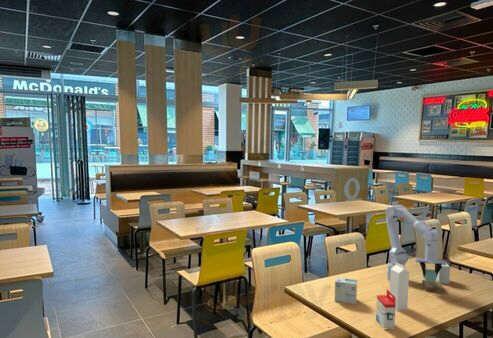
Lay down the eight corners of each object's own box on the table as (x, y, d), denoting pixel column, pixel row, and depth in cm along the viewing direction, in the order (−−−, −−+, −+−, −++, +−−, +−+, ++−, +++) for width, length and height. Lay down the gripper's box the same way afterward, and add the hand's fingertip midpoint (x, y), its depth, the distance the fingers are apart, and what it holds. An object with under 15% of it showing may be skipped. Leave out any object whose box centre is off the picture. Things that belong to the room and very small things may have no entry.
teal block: (425, 281, 181) (426, 272, 181) (423, 277, 186) (424, 268, 185) (435, 282, 180) (436, 273, 179) (433, 278, 184) (434, 269, 184)
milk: (397, 311, 163) (399, 266, 161) (388, 305, 169) (390, 262, 167) (407, 309, 164) (409, 265, 163) (398, 303, 170) (400, 261, 168)
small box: (449, 284, 194) (450, 266, 193) (438, 283, 195) (439, 265, 194) (445, 279, 201) (446, 262, 201) (434, 278, 203) (435, 261, 202)
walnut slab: (425, 291, 185) (426, 286, 185) (422, 285, 194) (422, 280, 193) (444, 293, 182) (444, 288, 182) (439, 287, 191) (439, 282, 191)
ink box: (375, 319, 155) (376, 288, 153) (385, 319, 155) (387, 288, 154) (383, 330, 146) (385, 297, 145) (395, 329, 146) (396, 297, 145)
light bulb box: (356, 299, 175) (357, 278, 174) (356, 304, 169) (356, 284, 168) (335, 295, 178) (335, 276, 177) (334, 301, 172) (334, 281, 171)
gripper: (417, 252, 180) (416, 277, 181) (448, 255, 176) (446, 281, 177) (415, 248, 187) (414, 272, 188) (444, 251, 182) (443, 275, 184)
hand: (429, 276), depth 183 cm, fingers closed on teal block, 5 cm apart
